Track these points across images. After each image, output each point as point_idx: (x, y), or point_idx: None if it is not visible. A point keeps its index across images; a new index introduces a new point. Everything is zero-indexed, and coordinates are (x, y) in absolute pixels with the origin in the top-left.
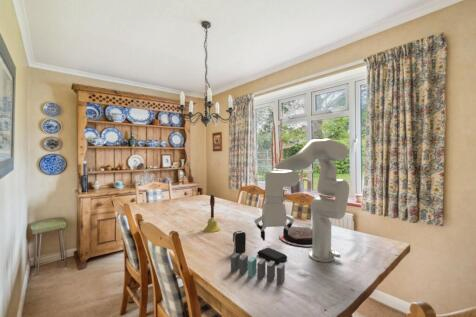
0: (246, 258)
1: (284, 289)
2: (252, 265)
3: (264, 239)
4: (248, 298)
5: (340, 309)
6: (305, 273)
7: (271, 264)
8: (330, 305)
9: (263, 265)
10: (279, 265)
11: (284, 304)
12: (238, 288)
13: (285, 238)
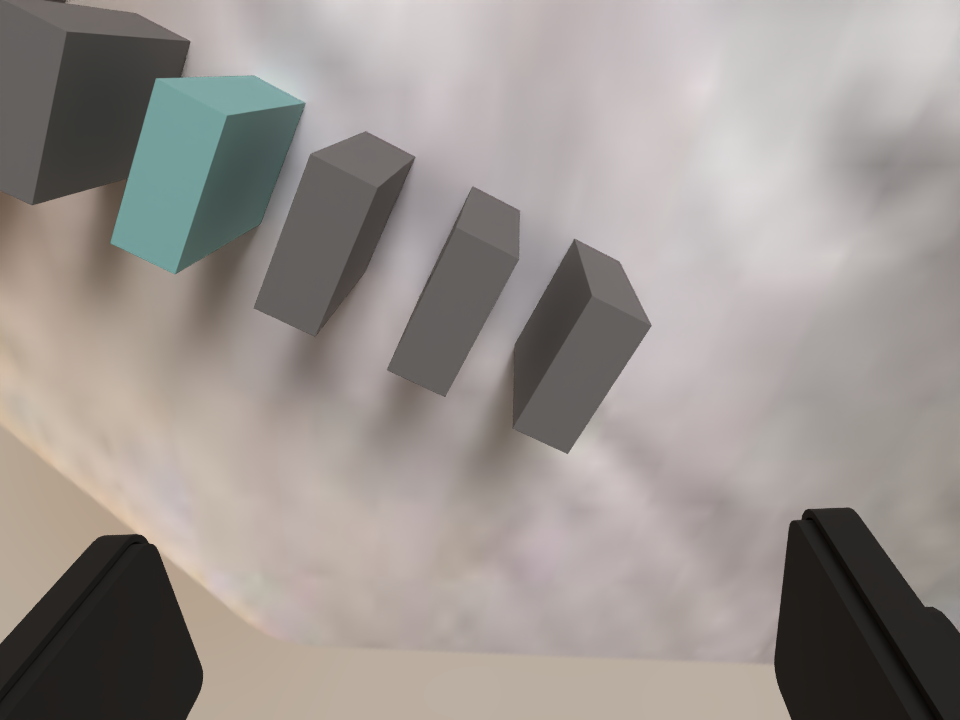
0: (72, 88)
1: None
2: (205, 246)
3: (182, 712)
4: (258, 527)
5: None
6: (935, 122)
7: (453, 348)
8: None
9: (355, 258)
10: (560, 377)
11: (523, 591)
12: (155, 406)
13: (787, 696)
